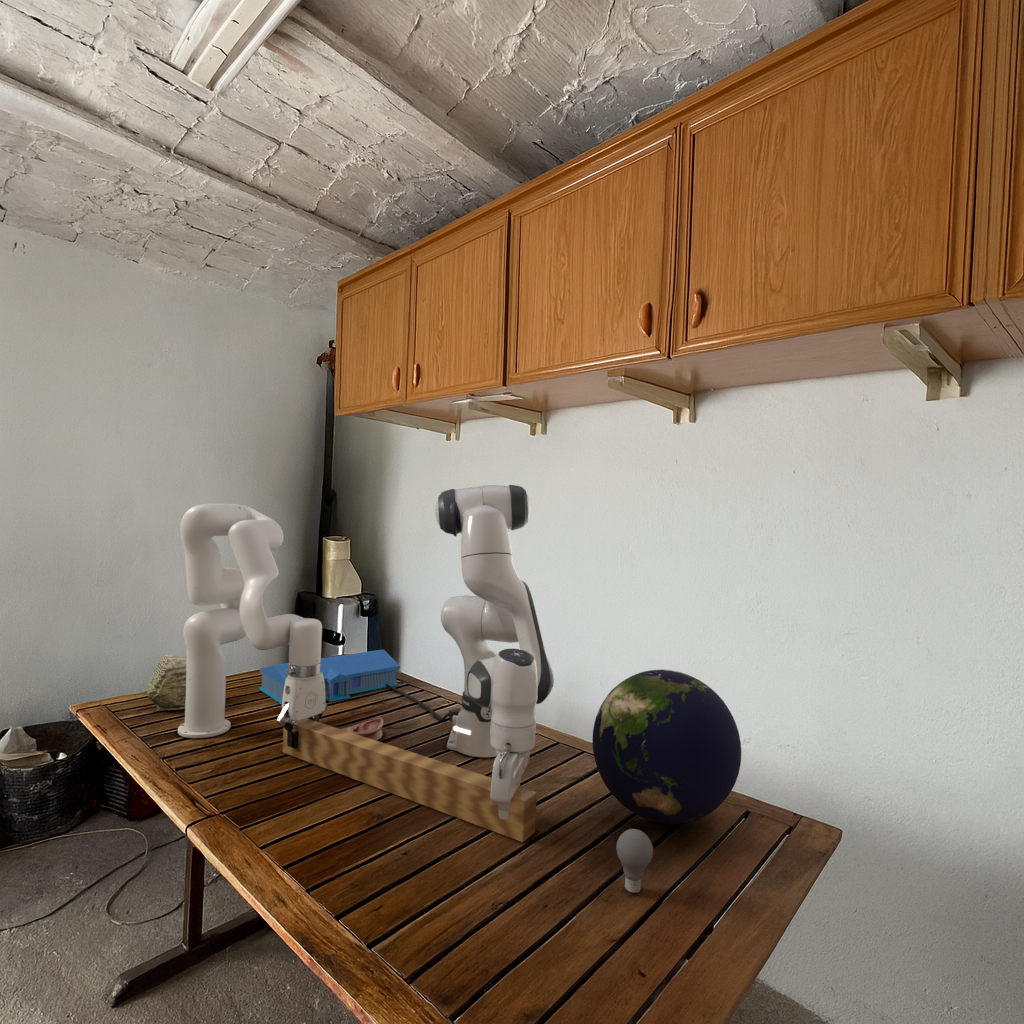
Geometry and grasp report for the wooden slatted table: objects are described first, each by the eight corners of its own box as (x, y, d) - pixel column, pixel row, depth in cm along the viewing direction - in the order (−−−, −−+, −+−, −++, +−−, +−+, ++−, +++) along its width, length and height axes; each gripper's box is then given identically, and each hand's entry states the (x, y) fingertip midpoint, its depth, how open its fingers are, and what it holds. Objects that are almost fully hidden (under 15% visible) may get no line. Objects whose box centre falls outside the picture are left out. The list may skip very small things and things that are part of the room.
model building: (289, 709, 186) (291, 675, 185) (258, 688, 204) (259, 657, 204) (403, 687, 212) (405, 657, 212) (366, 670, 230) (368, 643, 230)
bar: (282, 752, 156) (283, 720, 155) (298, 746, 160) (299, 715, 159) (522, 842, 119) (524, 801, 119) (535, 831, 123) (537, 792, 123)
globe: (571, 831, 124) (578, 679, 123) (607, 773, 151) (613, 648, 151) (733, 872, 112) (742, 704, 112) (740, 800, 140) (747, 665, 139)
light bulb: (610, 879, 108) (613, 822, 108) (644, 879, 109) (647, 822, 109) (619, 902, 102) (622, 840, 102) (655, 901, 103) (658, 840, 103)
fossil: (144, 707, 182) (145, 655, 182) (212, 696, 194) (213, 647, 194) (151, 716, 175) (153, 662, 175) (221, 703, 188) (223, 653, 188)
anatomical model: (322, 726, 163) (343, 712, 174) (321, 741, 163) (342, 726, 174) (370, 732, 160) (388, 717, 171) (370, 747, 160) (388, 732, 171)
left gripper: (285, 680, 146) (282, 758, 146) (341, 665, 160) (338, 737, 161) (264, 674, 150) (262, 750, 150) (321, 660, 164) (318, 730, 165)
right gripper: (518, 757, 112) (514, 835, 112) (537, 720, 132) (534, 786, 132) (484, 752, 113) (480, 829, 113) (507, 717, 133) (504, 782, 133)
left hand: (301, 742), depth 155 cm, fingers closed on bar, 4 cm apart
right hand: (509, 806), depth 123 cm, fingers open, 8 cm apart
